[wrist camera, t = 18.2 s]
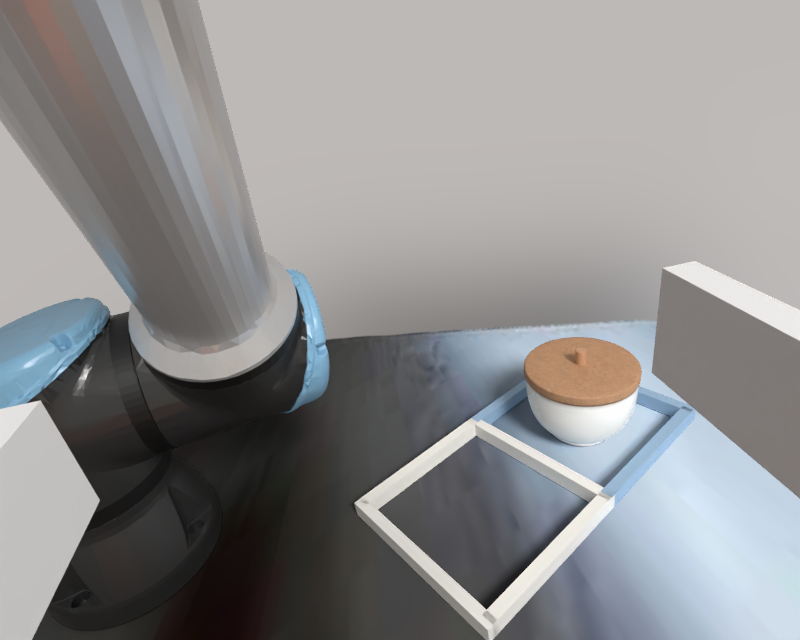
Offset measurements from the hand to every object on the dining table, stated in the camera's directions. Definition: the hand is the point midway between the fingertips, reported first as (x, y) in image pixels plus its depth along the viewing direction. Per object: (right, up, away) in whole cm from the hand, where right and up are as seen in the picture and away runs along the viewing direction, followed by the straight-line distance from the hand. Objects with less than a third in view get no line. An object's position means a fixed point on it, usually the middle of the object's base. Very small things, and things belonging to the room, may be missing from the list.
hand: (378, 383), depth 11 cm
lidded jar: (+19, -10, +41) cm, 46 cm away
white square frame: (+8, -16, +33) cm, 38 cm away
